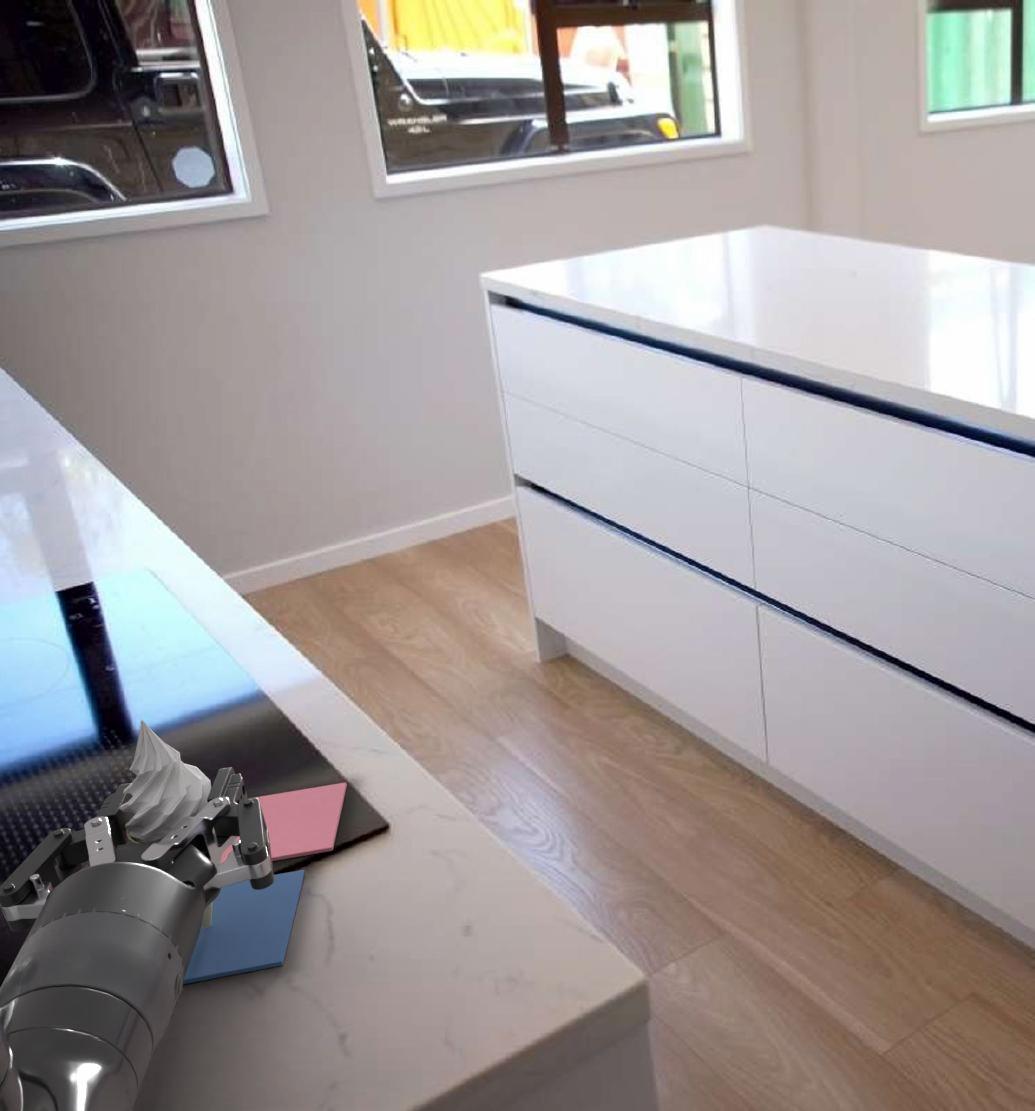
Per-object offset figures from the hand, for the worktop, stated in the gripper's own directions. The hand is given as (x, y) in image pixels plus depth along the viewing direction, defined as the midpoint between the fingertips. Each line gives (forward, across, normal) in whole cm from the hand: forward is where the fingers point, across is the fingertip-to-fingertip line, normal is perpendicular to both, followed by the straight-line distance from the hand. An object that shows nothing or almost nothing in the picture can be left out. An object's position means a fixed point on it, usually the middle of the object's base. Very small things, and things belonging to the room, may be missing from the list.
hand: (180, 788), depth 78 cm
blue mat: (-3, 0, +9) cm, 9 cm away
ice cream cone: (-3, 0, +9) cm, 9 cm away
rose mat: (+8, -3, +9) cm, 12 cm away
